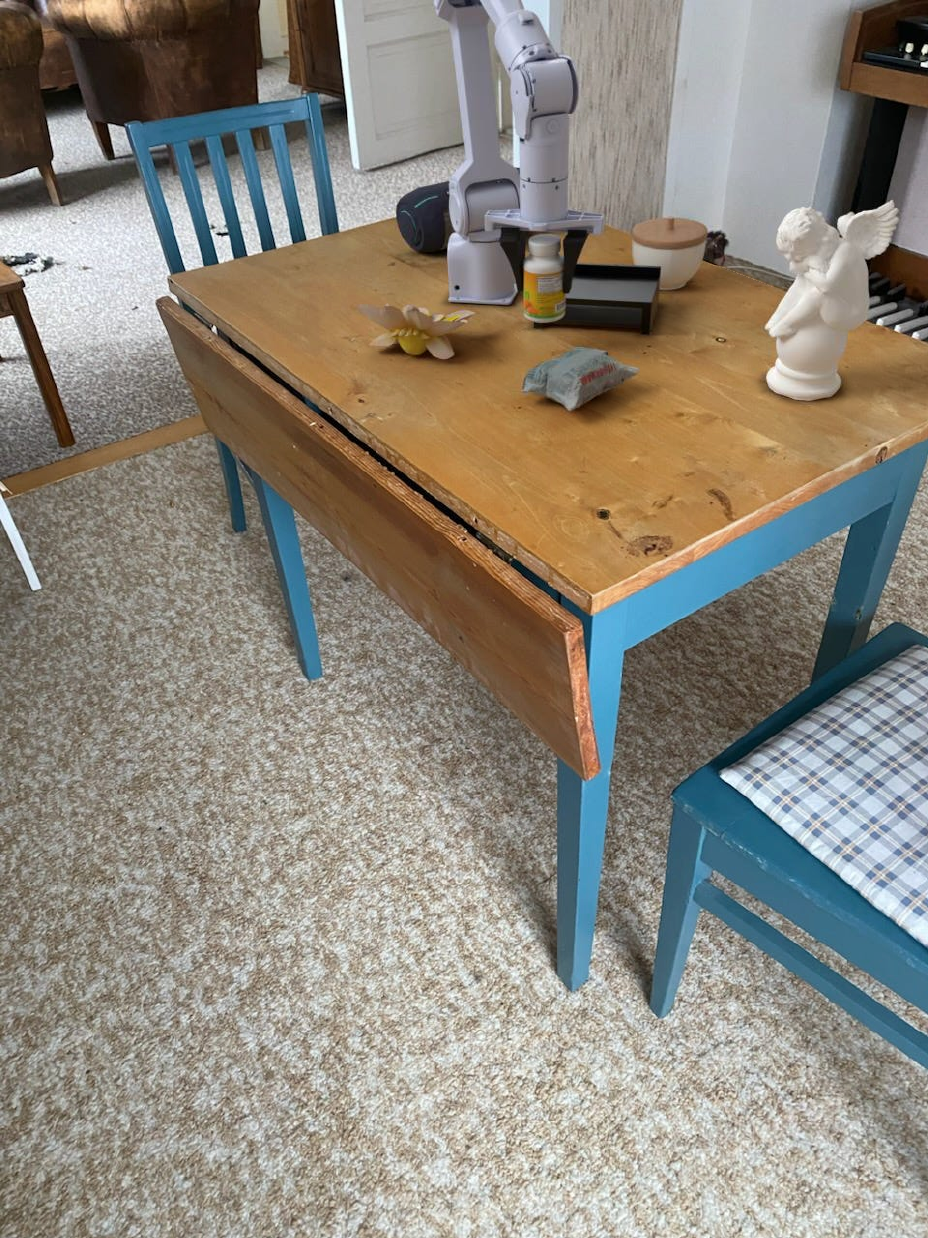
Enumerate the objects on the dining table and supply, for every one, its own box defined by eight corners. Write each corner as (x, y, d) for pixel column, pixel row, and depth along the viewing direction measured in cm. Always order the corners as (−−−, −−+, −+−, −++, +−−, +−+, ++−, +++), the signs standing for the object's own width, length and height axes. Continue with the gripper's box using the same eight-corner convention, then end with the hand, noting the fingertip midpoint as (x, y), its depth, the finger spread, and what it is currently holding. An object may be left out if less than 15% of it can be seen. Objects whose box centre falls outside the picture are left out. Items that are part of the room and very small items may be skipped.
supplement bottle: (521, 308, 125) (519, 233, 119) (561, 305, 126) (562, 229, 119) (526, 325, 121) (525, 248, 115) (568, 321, 121) (569, 244, 115)
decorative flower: (499, 325, 129) (483, 258, 122) (462, 377, 123) (443, 311, 116) (406, 317, 136) (386, 253, 128) (367, 366, 130) (343, 302, 123)
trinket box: (698, 268, 146) (705, 204, 140) (705, 295, 138) (712, 228, 132) (628, 269, 147) (631, 206, 141) (630, 296, 139) (634, 230, 133)
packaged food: (637, 390, 116) (639, 351, 113) (570, 425, 111) (570, 385, 108) (584, 369, 122) (585, 332, 118) (518, 402, 116) (517, 364, 113)
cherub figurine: (745, 389, 115) (773, 198, 101) (781, 350, 123) (812, 167, 109) (846, 411, 109) (891, 213, 95) (878, 369, 117) (924, 179, 103)
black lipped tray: (533, 328, 132) (533, 287, 129) (548, 300, 140) (548, 261, 136) (649, 334, 128) (652, 293, 125) (658, 305, 136) (661, 265, 132)
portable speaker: (420, 264, 154) (414, 200, 147) (393, 247, 161) (387, 185, 154) (551, 232, 162) (551, 169, 156) (520, 217, 169) (519, 156, 163)
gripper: (476, 184, 111) (481, 298, 120) (599, 187, 108) (595, 304, 117) (491, 167, 116) (494, 277, 125) (609, 169, 113) (604, 282, 122)
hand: (544, 289), depth 121 cm, fingers closed on supplement bottle, 5 cm apart
